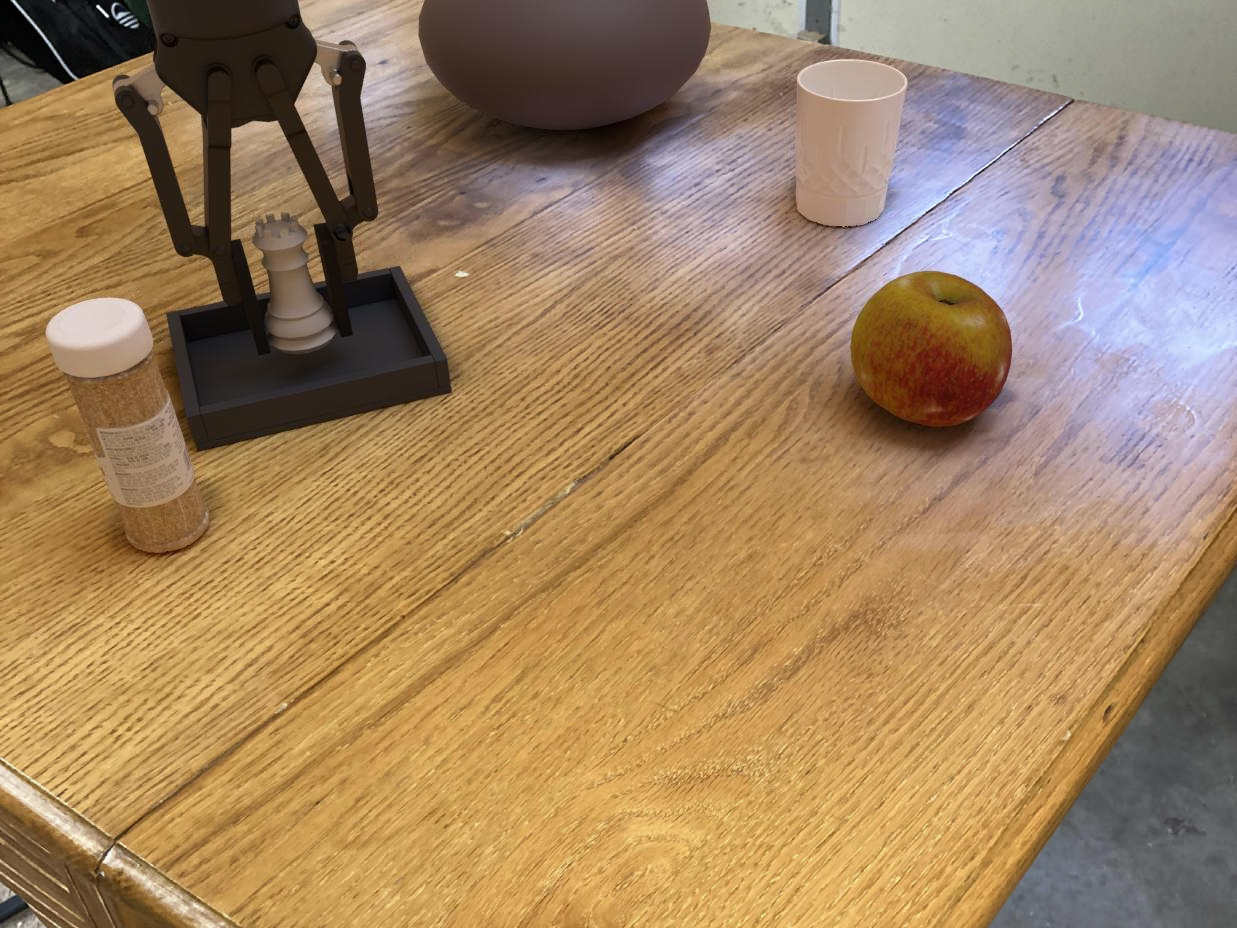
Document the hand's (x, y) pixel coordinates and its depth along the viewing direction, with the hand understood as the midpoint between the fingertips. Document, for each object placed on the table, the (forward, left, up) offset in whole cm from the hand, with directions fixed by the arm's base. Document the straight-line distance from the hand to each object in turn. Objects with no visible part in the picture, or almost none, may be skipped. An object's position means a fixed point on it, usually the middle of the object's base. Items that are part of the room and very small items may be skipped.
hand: (302, 334), depth 77 cm
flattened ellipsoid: (+29, +32, -3) cm, 43 cm away
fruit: (+34, -19, -3) cm, 39 cm away
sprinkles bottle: (-10, -13, -3) cm, 17 cm away
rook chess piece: (0, 0, 0) cm, 0 cm away
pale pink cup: (+42, +6, -3) cm, 43 cm away
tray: (0, 0, -3) cm, 3 cm away
